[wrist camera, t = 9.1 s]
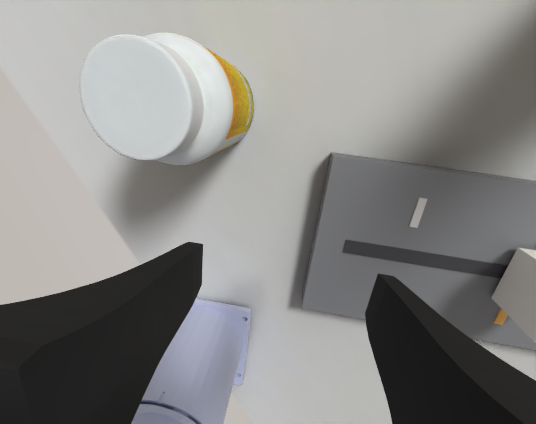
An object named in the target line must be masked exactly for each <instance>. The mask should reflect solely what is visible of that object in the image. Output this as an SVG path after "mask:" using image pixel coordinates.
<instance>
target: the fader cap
mask: <svg viewBox="0 0 536 424" xmlns="http://www.w3.org/2000/svg"><path fill="white" fill-rule="evenodd" d="M491 298H492V299H493V300H494V301H495V302H496V303H497V305H498V306H499V307H500V308H501V309H502V310H503V311H504V312H505V313H506V314H507V315H508V316H509V317H510V318H511V319H512V320H513V321H514V322H515V323H516V324H517V325H518V326H519V327H520V328H521V329H522V330H523V331H524V332H525V333H526V334H527V335H528V336H529V337H530V338H531V339H532V340H533V341H534V342H535V343H536V250H531V249H524V248H517V250H516V252H515V254H514V256H513V258H512V260H511V262H510V263H509V265H508V267H507V269H506V271H505V273H504V275H503V277H502V278H501V280H500V282H499V284H498V286H497V288H496V290H495V292H494V294H493V295H492V297H491Z"/></svg>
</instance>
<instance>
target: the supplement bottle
mask: <svg viewBox="0 0 536 424" xmlns="http://www.w3.org/2000/svg"><path fill="white" fill-rule="evenodd" d="M80 96H81V103H82V106H83V110H84V112H85V115H86V117H87V119H88V121H89V123H90V125H91V126H92V128H93V129H94V131H95V132H96V133H97V135H98V136H99V137H100V138H101V139H102V140H103V141H104V142H105V143H106V144H107V145H108V146H109V147H110V148H112V149H113V150H114V151H116V152H118V153H120V154H121V155H124V156H126V157H129V158H132V159H135V160H143V161H150V160H156V161H159V162H162V163H165V164H171V165H188V164H193V163H196V162H199V161H202V160H204V159H206V158H208V157H210V156H212V155H214V154H216V153H218V152H219V151H221V150H223V149H226V148H228V147H230V146H232V145H233V144H235V143H237V142H238V141H239V140H241V139H242V138H243V137H244V136H245V134H246V133H247V132H248V130H249V128H250V126H251V124H252V121H253V117H254V108H255V104H254V96H253V92H252V89H251V86H250V84H249V82H248V81H247V79H246V78H245V76H244V75H243V74H242V73H241V72H240V71H239V70H238V69H237V68H236V67H234V66H233V65H232V64H230V63H229V62H227V61H226V60H224V59H222V58H221V57H219V56H218V55H216V54H214V53H213V52H211V51H210V50H208V49H207V48H205V47H203V46H202V45H200V44H199V43H197V42H195V41H194V40H192V39H190V38H187V37H185V36H182V35H178V34H174V33H153V34H149V35H146V36H144V37H141V36H138V35H132V34H120V35H115V36H112V37H108V38H106V39H104V40H102V41H101V42H100V43H98V44H97V45H96V46H95V47H94V48H93V49H92V50H91V51H90V53H89V54H88V56H87V58H86V59H85V61H84V64H83V66H82V70H81V74H80Z"/></svg>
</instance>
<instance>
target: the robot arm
mask: <svg viewBox="0 0 536 424" xmlns="http://www.w3.org/2000/svg"><path fill="white" fill-rule="evenodd" d="M202 256H203V244H199V243H193V242H187V243H185V244H183V245H180V246H178V247H176V248H174V249H172V250H171V251H169V252H167V253H165V254H163V255H161V256H159V257H157V258H155V259H153V260H150V261H148V262H146V263H144V264H142V265H139V266H137V267H135V268H133V269H130V270H128V271H126V272H123V273H121V274H118V275H116V276H113V277H110V278H107V279H104V280H102V281H99V282H96V283H93V284H89V285H86V286H82V287H79V288H76V289H72V290H68V291H65V292H61V293H57V294H53V295H49V296H45V297H40V298H35V299H31V300H26V301H21V302H15V303H10V304H4V305H0V424H223V422H224V418H225V414H226V410H227V406H228V402H229V398H230V394H231V390H232V386H233V385H237V386H239V385H242V383H243V378H244V370H245V362H246V354H247V345H248V337H249V329H250V321H251V310H250V309H249V308H247V307H241V306H236V305H230V304H225V303H219V302H214V301H208V300H203V299H197V298H196V297H197V294H198V292H199V290H200V287H201V285H202ZM244 317H246V318H244ZM365 318H366V325H367V331H368V337H369V341H370V344H371V348H372V351H373V354H374V358H375V361H376V364H377V368H378V371H379V374H380V377H381V381H382V384H383V387H384V391H385V394H386V397H387V401H388V405H389V409H390V413H391V418H392V423H393V424H536V381H535V380H534V379H532V378H530V377H529V376H527V375H525V374H524V373H522V372H520V371H519V370H517V369H515V368H514V367H512V366H511V365H509V364H507V363H506V362H504V361H503V360H501V359H500V358H498V357H497V356H495V355H494V354H492V353H491V352H489V351H488V350H486V349H485V348H483V347H482V346H481V345H479V344H478V343H476V342H475V341H473V340H472V339H471V338H469V337H468V336H466V335H465V334H464V333H462V332H461V331H460V330H459V329H457V328H456V327H455V326H453V325H452V324H451V323H450V322H448V321H447V320H446V319H445V318H443V317H442V316H441V315H440V314H438V313H437V312H436V311H435V310H434V309H432V308H431V307H430V306H429V305H428V304H427V303H425V302H424V301H423V300H422V299H421V298H420V297H418V296H417V295H416V294H415V293H414V292H413V291H411V290H410V289H409V288H408V287H407V286H406V285H404V284H403V283H402V282H401V281H400V280H398V279H397V278H396V277H394V276H390V275H384V274H378V275H377V278H376V281H375V284H374V287H373V290H372V293H371V296H370V299H369V302H368V305H367V309H366V312H365Z"/></svg>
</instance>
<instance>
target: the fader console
mask: <svg viewBox="0 0 536 424" xmlns="http://www.w3.org/2000/svg"><path fill="white" fill-rule="evenodd" d="M517 248H524V249H531V250H536V181H532V180H525V179H517V178H510V177H503V176H496V175H489V174H482V173H474V172H467V171H460V170H453V169H446V168H439V167H431V166H424V165H417V164H410V163H403V162H395V161H388V160H381V159H374V158H367V157H360V156H352V155H345V154H338V153H331V156H330V161H329V166H328V171H327V176H326V181H325V186H324V190H323V195H322V200H321V205H320V210H319V215H318V220H317V224H316V229H315V234H314V239H313V244H312V249H311V254H310V259H309V263H308V268H307V273H306V278H305V283H304V288H303V293H302V309H308V310H313V311H319V312H324V313H330V314H335V315H341V316H347V317H352V318H358V319H363V320H366V318H365V312H366V309H367V305H368V302H369V299H370V296H371V293H372V290H373V287H374V284H375V281H376V278H377V275H378V274H384V275H390V276H394V277H396V278H397V279H398V280H400V281H401V282H402V283H403V284H404V285H406V286H407V287H408V288H409V289H410V290H411V291H413V292H414V293H415V294H416V295H417V296H418V297H420V298H421V299H422V300H423V301H424V302H425V303H427V304H428V305H429V306H430V307H431V308H432V309H434V310H435V311H436V312H437V313H438V314H440V315H441V316H442V317H443V318H445V319H446V320H447V321H448V322H450V323H451V324H452V325H453V326H455V327H456V328H457V329H459V330H460V331H461V332H462V333H464V334H465V335H466V336H468V337H469V338H471V339H475V340H481V341H486V342H492V343H497V344H503V345H509V346H514V347H520V348H525V349H531V350H536V343H535V342H534V341H533V340H532V339H531V338H530V337H529V336H528V335H527V334H526V333H525V332H524V331H523V330H522V329H521V328H520V327H519V326H518V325H517V324H516V323H515V322H514V321H513V320H512V319H511V318H510V317H509V316H508V315H507V314H506V313H505V312H504V311H503V310H502V309H501V308H500V307H499V306H498V305H497V303H496V302H495V301H494V300H493V299H492V298H491V297H492V295H493V294H494V292H495V290H496V288H497V286H498V284H499V282H500V280H501V278H502V277H503V275H504V273H505V271H506V269H507V267H508V265H509V263H510V262H511V260H512V258H513V256H514V254H515V252H516V250H517Z"/></svg>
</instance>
